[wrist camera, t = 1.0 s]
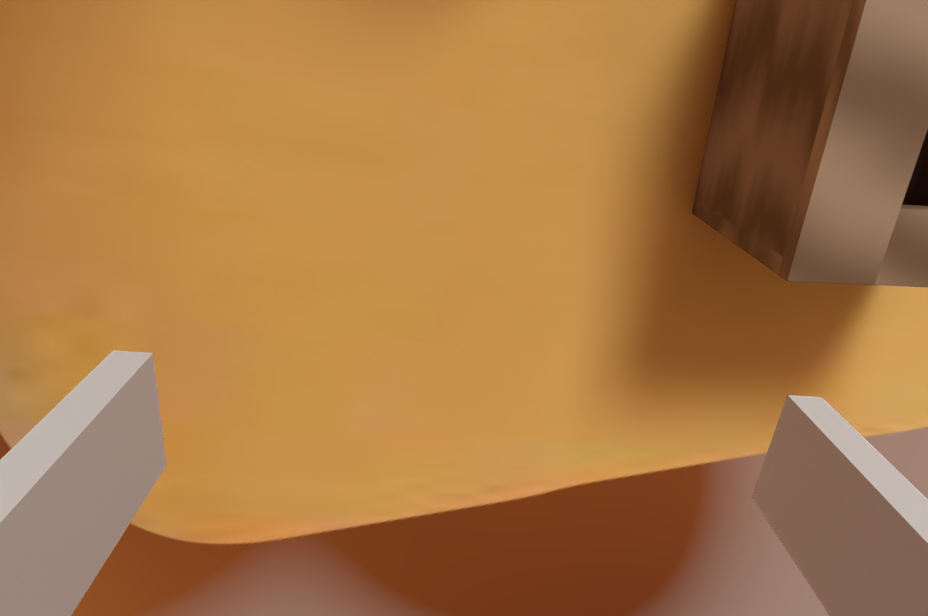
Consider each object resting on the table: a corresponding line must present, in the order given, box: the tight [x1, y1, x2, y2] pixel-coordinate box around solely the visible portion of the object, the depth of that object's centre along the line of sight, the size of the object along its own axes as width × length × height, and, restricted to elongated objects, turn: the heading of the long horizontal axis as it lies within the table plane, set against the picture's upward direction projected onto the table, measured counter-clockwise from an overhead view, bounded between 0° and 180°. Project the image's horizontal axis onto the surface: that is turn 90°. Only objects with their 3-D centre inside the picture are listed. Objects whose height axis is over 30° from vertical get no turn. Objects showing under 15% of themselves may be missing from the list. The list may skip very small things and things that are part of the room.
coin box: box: [692, 0, 928, 287], centre depth 29 cm, size 16×13×11 cm
